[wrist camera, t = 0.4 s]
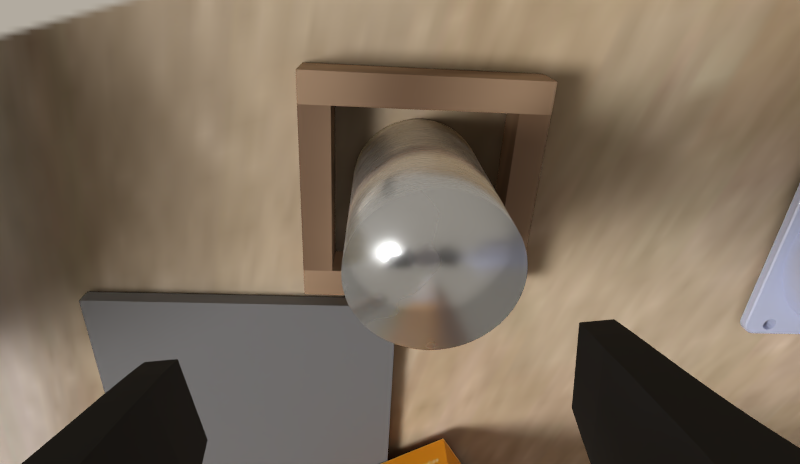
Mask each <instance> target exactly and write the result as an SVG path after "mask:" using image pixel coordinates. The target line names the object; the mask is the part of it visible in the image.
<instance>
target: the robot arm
mask: <svg viewBox="0 0 800 464" xmlns="http://www.w3.org/2000/svg"><path fill="white" fill-rule="evenodd" d="M767 320H768V321H767ZM766 321H767V322H766ZM740 324H741V326H742V327H743V328H744V329H745V330H746V331H748V332H749V333H771V334H800V184H799V186H798V188H797V191H796V193H795V195H794V198H793V200H792V202H791V205H790V207H789V209H788V211H787V214H786V216H785V218H784V221H783V223H782V225H781V228H780V230H779V232H778V234H777V237H776V239H775V241H774V244H773V246H772V248H771V251H770V253H769V255H768V257H767V260H766V262H765V264H764V267H763V269H762V271H761V274H760V276H759V278H758V280H757V283H756V285H755V287H754V290H753V292H752V294H751V297H750V299H749V301H748V303H747V306H746V308H745V310H744V313H743V315H742V317H741V320H740ZM572 410H573V413H574V416H575V419H576V422H577V425H578V428H579V431H580V434H581V437H582V440H583V443H584V446H585V449H586V451H587V454H588V457H589V460H590V463H591V464H800V448H798V447H797V446H795V445H794V444H792V443H791V442H789V441H788V440H786V439H784V438H783V437H781V436H780V435H778V434H777V433H775V432H773V431H772V430H770V429H769V428H767V427H766V426H764V425H763V424H761V423H759V422H758V421H756V420H755V419H753V418H752V417H750V416H749V415H747V414H746V413H745V412H743V411H742V410H740V409H739V408H737V407H736V406H734V405H733V404H731V403H730V402H728V401H727V400H725V399H724V398H722V397H721V396H720V395H718V394H717V393H715V392H714V391H712V390H711V389H710V388H708V387H707V386H705V385H704V384H703V383H701V382H700V381H698V380H697V379H696V378H694V377H693V376H691V375H690V374H689V373H687V372H686V371H684V370H683V369H682V368H680V367H679V366H678V365H676V364H675V363H673V362H672V361H671V360H669V359H668V358H667V357H665V356H664V355H662V354H661V353H660V352H658V351H657V350H656V349H654V348H653V347H652V346H650V345H649V344H648V343H646V342H645V341H643V340H642V339H641V338H639V337H638V336H637V335H635V334H634V333H633V332H631V331H630V330H628V329H627V328H626V327H624V326H623V325H621V324H620V323H618V322H617V321H616V320H614V319H613V320H602V321H591V322H580V323H579V334H578V345H577V356H576V367H575V379H574V390H573V401H572ZM207 441H208V440H207V437H206V434H205V431H204V429H203V426H202V423H201V421H200V418H199V415H198V413H197V410H196V407H195V404H194V402H193V399H192V396H191V394H190V391H189V388H188V386H187V383H186V380H185V377H184V375H183V372H182V369H181V367H180V364H179V361H178V359H173V360H162V361H151V362H144V363H142V364H141V365H140V366H138V367H137V368H136V369H134V370H133V371H132V372H131V373H129V374H128V375H127V376H126V377H124V378H123V379H122V380H121V381H119V382H118V383H117V384H116V385H115V386H113V387H112V388H111V389H110V390H109V391H107V392H106V393H105V394H104V395H103V396H101V397H100V398H99V399H98V400H97V401H96V402H94V403H93V404H92V405H91V406H90V407H88V408H87V409H86V410H85V411H84V412H83V413H81V414H80V415H79V416H78V417H77V418H76V419H74V420H73V421H72V422H71V423H70V424H68V425H67V426H66V427H65V428H64V429H62V430H61V431H60V432H59V433H58V434H56V435H55V436H54V437H53V438H52V439H50V440H49V441H48V442H47V443H46V444H45V445H43V446H42V447H41V448H40V449H39V450H37V451H36V452H35V453H34V454H33V455H31V456H30V457H29V458H28V459H27V460H25V461H24V462H23V463H22V464H202V462H203V458H204V454H205V449H206V445H207Z"/></svg>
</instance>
